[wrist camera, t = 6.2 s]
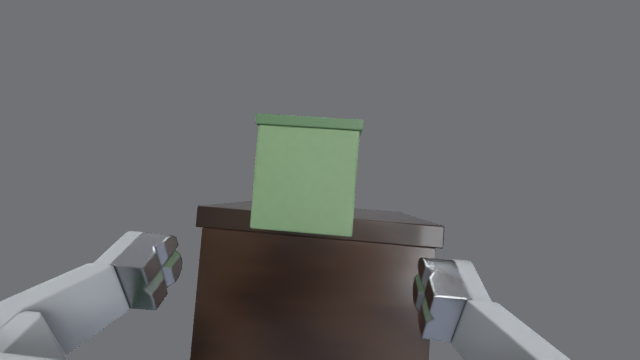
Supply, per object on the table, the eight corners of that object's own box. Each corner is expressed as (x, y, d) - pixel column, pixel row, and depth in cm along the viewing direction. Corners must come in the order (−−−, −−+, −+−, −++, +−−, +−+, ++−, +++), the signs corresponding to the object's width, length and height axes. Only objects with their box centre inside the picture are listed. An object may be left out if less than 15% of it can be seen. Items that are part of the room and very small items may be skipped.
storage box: (344, 207, 35) (347, 169, 36) (354, 237, 11) (363, 119, 11) (309, 204, 36) (312, 167, 36) (245, 228, 12) (255, 113, 12)
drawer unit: (382, 430, 36) (396, 211, 37) (419, 640, 19) (444, 226, 20) (242, 411, 37) (260, 200, 38) (160, 594, 20) (197, 205, 21)
